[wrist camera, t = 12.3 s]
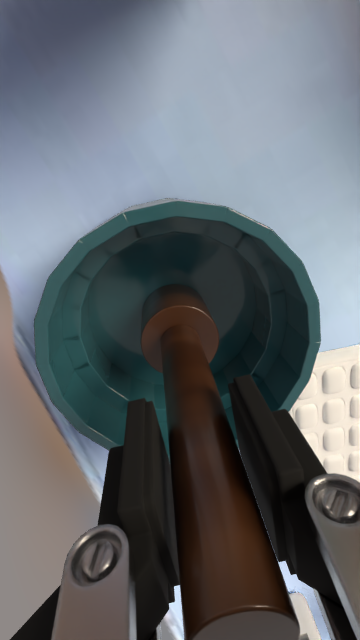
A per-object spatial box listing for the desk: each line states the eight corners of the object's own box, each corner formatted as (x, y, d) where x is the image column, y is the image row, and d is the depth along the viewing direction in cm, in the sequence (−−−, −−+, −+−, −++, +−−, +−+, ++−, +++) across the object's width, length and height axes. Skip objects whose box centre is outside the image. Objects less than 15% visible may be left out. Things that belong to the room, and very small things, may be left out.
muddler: (134, 291, 20) (93, 602, 5) (200, 277, 20) (359, 541, 5) (150, 350, 21) (155, 725, 6) (211, 336, 21) (358, 677, 6)
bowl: (33, 227, 18) (-17, 242, 13) (264, 176, 19) (313, 170, 13) (101, 416, 23) (86, 486, 18) (283, 375, 23) (325, 432, 18)
